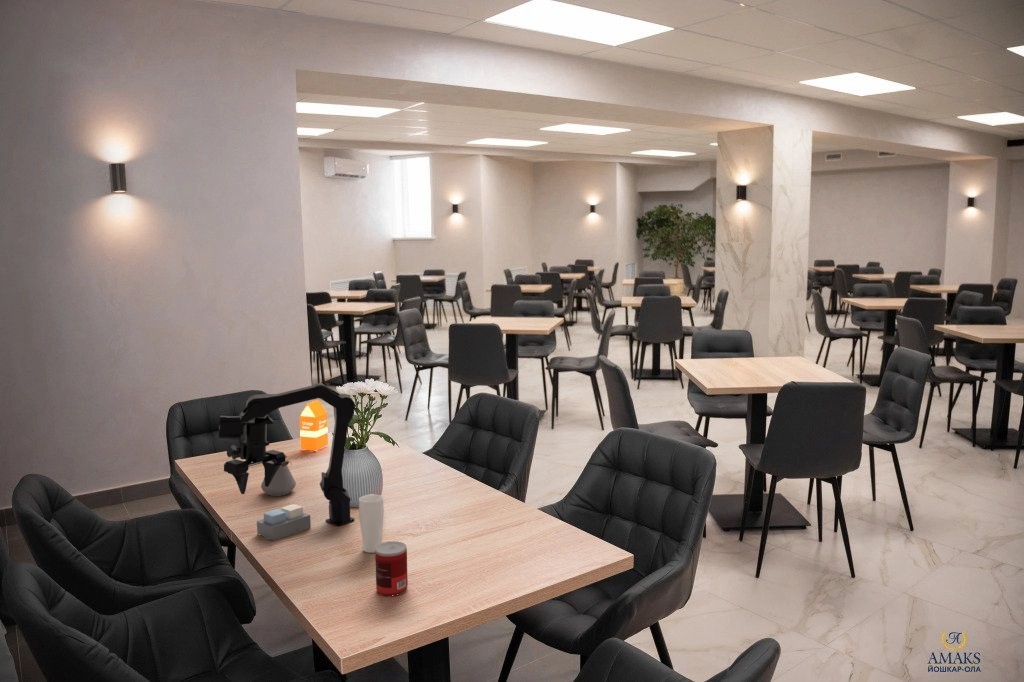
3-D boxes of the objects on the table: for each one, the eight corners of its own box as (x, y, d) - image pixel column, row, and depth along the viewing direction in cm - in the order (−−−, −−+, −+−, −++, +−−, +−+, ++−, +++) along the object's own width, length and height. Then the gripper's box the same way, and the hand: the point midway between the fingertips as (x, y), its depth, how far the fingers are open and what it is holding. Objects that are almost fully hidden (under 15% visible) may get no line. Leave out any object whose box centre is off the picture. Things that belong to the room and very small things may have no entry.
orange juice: (300, 450, 315) (298, 403, 312) (312, 444, 323) (310, 399, 321) (316, 451, 312) (315, 404, 310) (328, 446, 321) (326, 400, 318)
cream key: (303, 519, 228) (302, 507, 228) (290, 523, 225) (290, 510, 225) (294, 516, 231) (294, 503, 231) (282, 520, 228) (281, 507, 227)
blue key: (285, 525, 224) (285, 512, 223) (272, 529, 221) (272, 516, 220) (277, 522, 227) (276, 509, 226) (264, 526, 223) (263, 513, 223)
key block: (310, 527, 229) (310, 515, 228) (272, 540, 219) (272, 527, 218) (295, 521, 234) (294, 509, 233) (257, 534, 224) (256, 521, 223)
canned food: (409, 582, 192) (408, 540, 190) (405, 596, 184) (404, 553, 182) (378, 582, 191) (377, 541, 190) (374, 597, 183) (372, 554, 182)
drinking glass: (379, 555, 208) (377, 503, 206) (356, 553, 209) (354, 501, 207) (388, 546, 215) (386, 494, 213) (365, 544, 216) (364, 493, 214)
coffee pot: (258, 490, 263) (256, 449, 261) (291, 485, 269) (289, 444, 267) (272, 509, 245) (270, 464, 243) (307, 503, 251) (306, 459, 249)
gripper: (260, 428, 234) (259, 478, 236) (210, 439, 218) (210, 492, 220) (287, 434, 229) (285, 484, 231) (238, 446, 213) (237, 500, 214)
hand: (254, 490), depth 224 cm, fingers open, 9 cm apart
